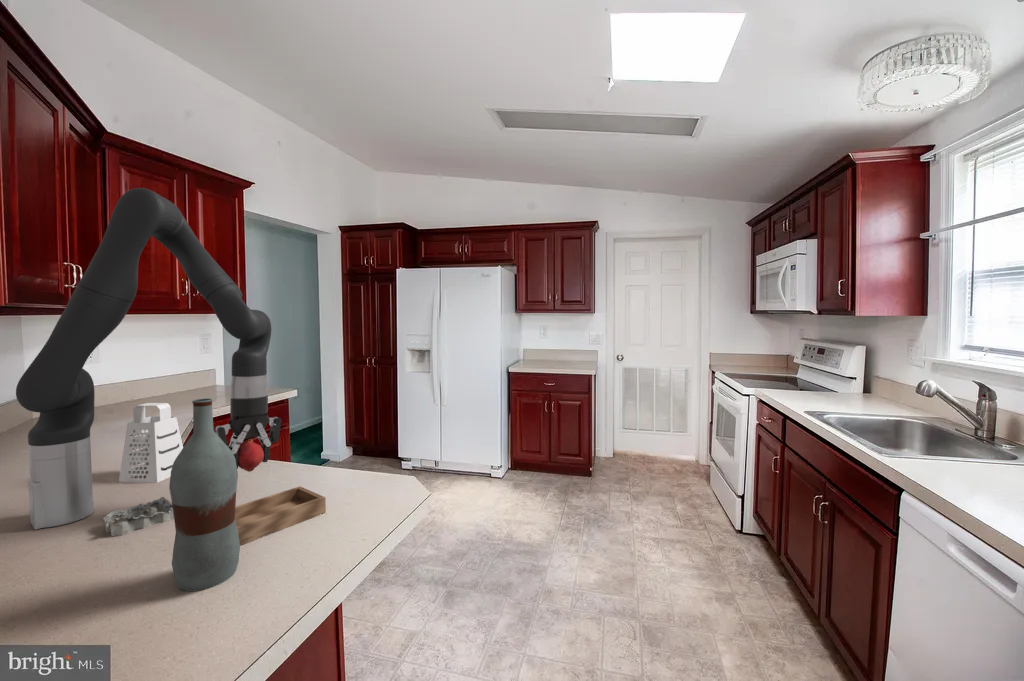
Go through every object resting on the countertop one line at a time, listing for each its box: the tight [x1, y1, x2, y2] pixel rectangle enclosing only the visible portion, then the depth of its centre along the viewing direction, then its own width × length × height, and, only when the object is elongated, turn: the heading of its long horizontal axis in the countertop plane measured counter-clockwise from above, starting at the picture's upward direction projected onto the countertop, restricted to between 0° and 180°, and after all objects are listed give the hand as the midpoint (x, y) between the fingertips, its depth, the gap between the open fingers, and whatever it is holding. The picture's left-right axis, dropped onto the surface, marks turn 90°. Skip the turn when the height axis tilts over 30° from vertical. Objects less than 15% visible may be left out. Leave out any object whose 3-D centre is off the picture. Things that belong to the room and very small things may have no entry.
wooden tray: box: [235, 486, 327, 546], centre depth 91 cm, size 20×11×4 cm, turn 144°
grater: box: [118, 402, 184, 484], centre depth 119 cm, size 10×10×20 cm
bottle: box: [168, 397, 241, 592], centre depth 71 cm, size 9×9×30 cm
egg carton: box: [103, 496, 174, 538], centre depth 91 cm, size 11×8×4 cm
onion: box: [237, 437, 264, 473], centre depth 101 cm, size 6×6×8 cm
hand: (249, 464), depth 101 cm, fingers closed on onion, 6 cm apart
